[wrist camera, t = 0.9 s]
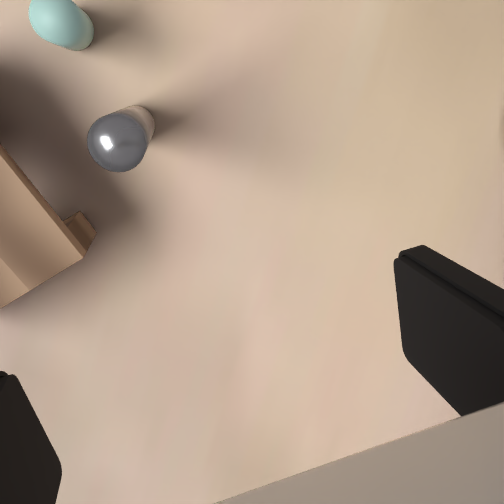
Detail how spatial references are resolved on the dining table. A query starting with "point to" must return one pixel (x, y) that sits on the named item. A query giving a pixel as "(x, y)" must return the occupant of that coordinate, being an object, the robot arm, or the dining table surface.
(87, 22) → the short pin
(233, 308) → the dining table surface
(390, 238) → the dining table surface
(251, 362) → the dining table surface
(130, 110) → the long pin
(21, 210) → the bridge
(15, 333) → the dining table surface
